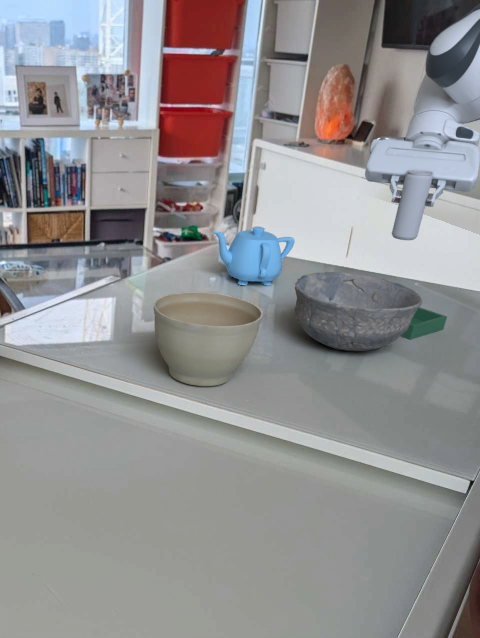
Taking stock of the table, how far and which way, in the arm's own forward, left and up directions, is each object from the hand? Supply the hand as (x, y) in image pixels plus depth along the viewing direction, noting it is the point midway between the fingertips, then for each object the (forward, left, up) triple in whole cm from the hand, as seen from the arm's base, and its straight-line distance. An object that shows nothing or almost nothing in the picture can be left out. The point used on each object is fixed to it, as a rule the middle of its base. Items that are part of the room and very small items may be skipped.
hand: (412, 202), depth 144 cm
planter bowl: (+60, +9, -19) cm, 63 cm away
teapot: (+17, -24, -19) cm, 35 cm away
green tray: (+11, +11, -19) cm, 24 cm away
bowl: (+29, +12, -19) cm, 37 cm away
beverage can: (-1, 0, -7) cm, 7 cm away
